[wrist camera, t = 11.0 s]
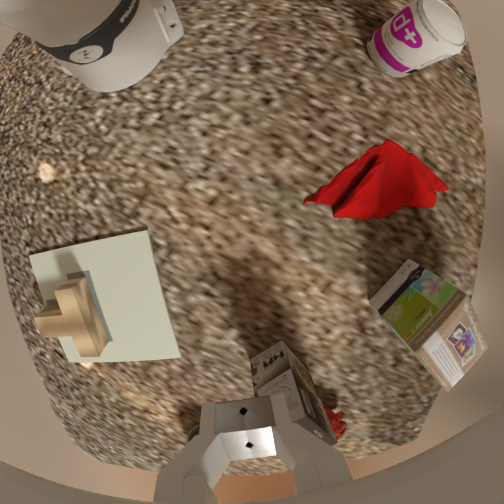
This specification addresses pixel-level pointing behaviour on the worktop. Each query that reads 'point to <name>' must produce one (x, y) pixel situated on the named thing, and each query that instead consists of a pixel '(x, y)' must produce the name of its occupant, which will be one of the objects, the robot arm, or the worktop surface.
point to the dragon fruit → (336, 422)
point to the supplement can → (417, 38)
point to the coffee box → (291, 389)
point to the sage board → (114, 295)
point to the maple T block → (74, 318)
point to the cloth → (381, 184)
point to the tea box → (432, 321)
